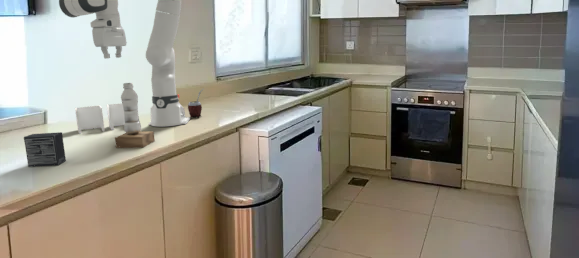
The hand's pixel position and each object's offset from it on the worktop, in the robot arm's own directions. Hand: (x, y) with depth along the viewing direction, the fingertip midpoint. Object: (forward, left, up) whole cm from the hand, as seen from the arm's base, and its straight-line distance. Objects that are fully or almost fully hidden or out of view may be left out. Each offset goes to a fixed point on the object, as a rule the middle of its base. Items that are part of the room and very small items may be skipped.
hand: (113, 58), depth 194 cm
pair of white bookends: (-25, -20, -34) cm, 47 cm away
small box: (+38, -8, -34) cm, 52 cm away
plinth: (+10, +11, -34) cm, 37 cm away
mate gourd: (-53, +15, -34) cm, 65 cm away
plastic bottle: (+10, +10, -30) cm, 33 cm away
